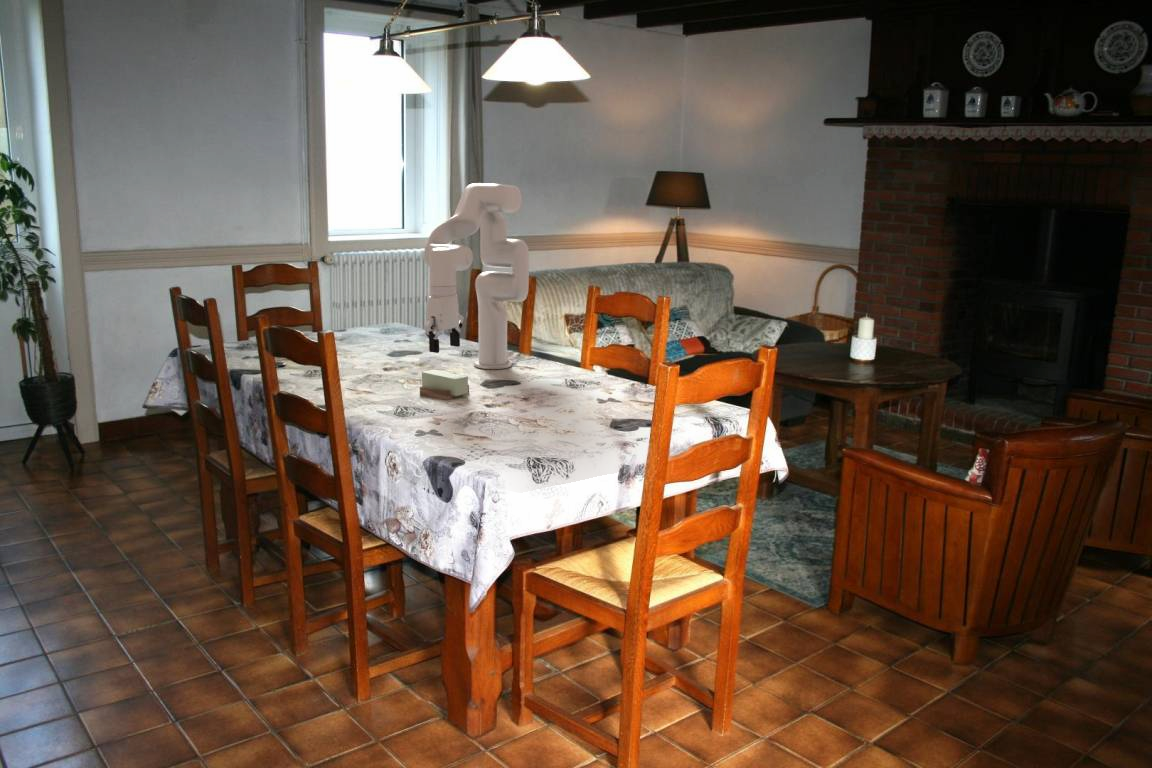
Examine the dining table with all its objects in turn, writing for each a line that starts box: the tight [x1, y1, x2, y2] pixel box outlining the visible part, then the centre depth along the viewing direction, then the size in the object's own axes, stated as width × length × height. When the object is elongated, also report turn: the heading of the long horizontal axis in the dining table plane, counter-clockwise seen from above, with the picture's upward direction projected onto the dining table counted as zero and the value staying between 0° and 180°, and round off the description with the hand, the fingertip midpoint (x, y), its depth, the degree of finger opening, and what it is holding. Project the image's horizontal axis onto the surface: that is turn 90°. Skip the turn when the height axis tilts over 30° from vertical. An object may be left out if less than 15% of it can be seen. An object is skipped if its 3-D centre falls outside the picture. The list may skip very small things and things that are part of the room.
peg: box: [421, 369, 469, 397], centre depth 290 cm, size 5×14×5 cm, turn 52°
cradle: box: [419, 384, 470, 401], centre depth 290 cm, size 10×10×2 cm
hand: (444, 349), depth 288 cm, fingers open, 9 cm apart
